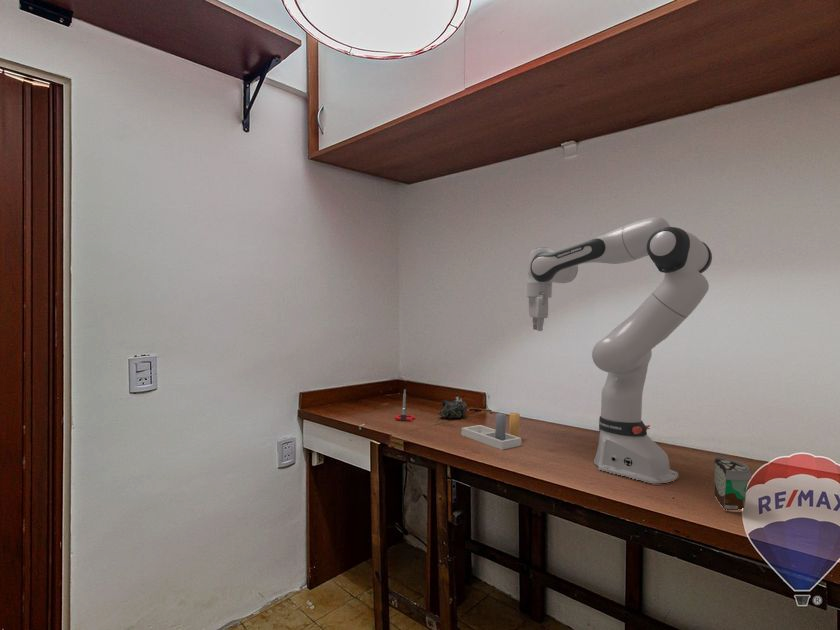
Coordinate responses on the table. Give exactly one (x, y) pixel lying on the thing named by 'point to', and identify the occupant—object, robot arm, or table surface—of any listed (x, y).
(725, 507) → the food container
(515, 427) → the domed orange pawn
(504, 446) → the white divided tray
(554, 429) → the table surface
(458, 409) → the mineral specimen
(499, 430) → the grey rounded peg
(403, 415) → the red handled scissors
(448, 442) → the table surface
